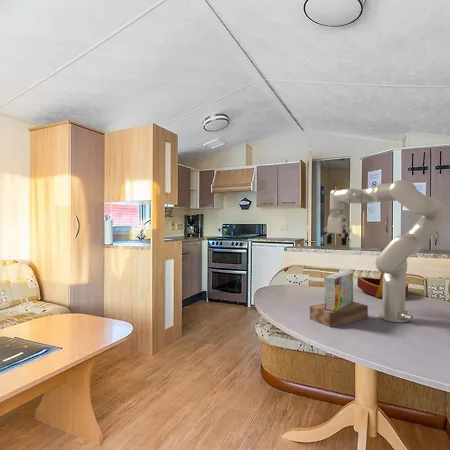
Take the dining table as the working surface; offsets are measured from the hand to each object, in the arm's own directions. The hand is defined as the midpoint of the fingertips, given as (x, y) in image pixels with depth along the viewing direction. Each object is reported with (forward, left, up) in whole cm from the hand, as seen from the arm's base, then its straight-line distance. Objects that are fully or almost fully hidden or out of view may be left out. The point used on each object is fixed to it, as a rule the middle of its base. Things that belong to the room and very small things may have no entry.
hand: (336, 244), depth 168 cm
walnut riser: (-16, +16, -33) cm, 40 cm away
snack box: (-16, +16, -28) cm, 36 cm away
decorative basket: (+6, -48, -34) cm, 59 cm away
